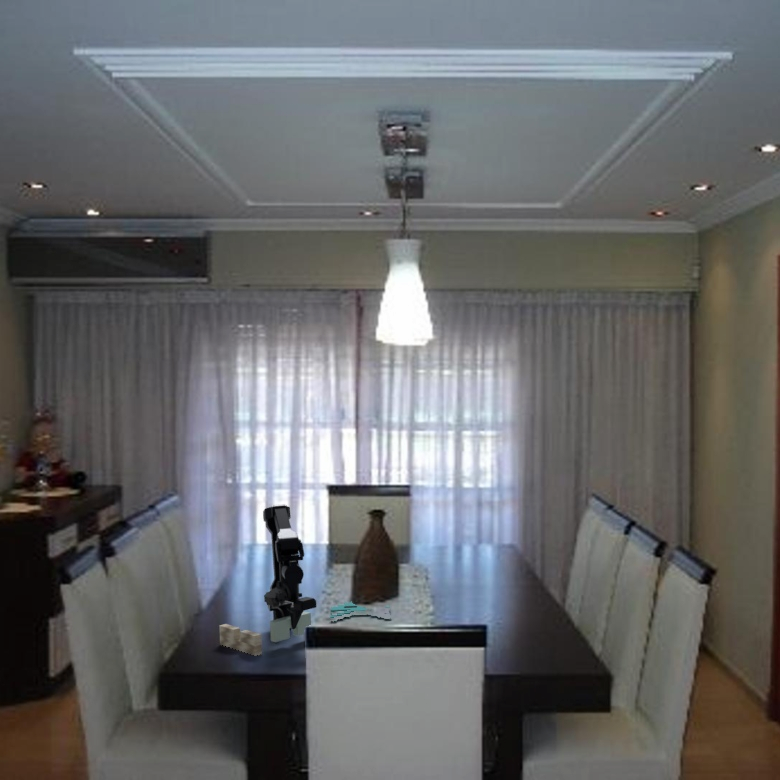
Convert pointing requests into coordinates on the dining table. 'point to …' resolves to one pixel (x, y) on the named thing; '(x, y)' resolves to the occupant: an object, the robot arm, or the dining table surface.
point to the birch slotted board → (240, 639)
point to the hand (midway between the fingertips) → (291, 628)
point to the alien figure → (347, 607)
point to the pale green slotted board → (282, 625)
